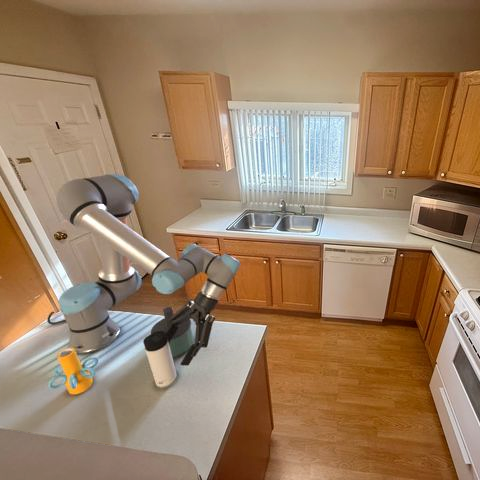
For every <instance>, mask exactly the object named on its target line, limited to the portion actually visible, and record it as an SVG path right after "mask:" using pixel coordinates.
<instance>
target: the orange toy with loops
mask: <svg viewBox="0 0 480 480" xmlns="http://www.w3.org/2000/svg"><path fill="white" fill-rule="evenodd" d="M78 355H79V354H77V353H76V351H75V349H74V348H70V347H66V348H64V349H62V350H60V351H59V352H58V353H57V354H56V358H57V360H58V362H59V364H60V366H58V367H55V368H54V369H53V373H54V374H55V376H54V377H52V378H50V380H49V381H48V383H47V386H48V388H49V389H51V390H55V389H59V388H61V387H62V386H64V385H65V387H66V389H67V391H68V394H70V395H78V394H81V393H83V392H85V391H87V390H89V388H90V387H91V386H92V385H93V382H94V379H93V377H95V376H96V371H95V369H94V368H95V367H96V366H97V365H98V363H99V358H98V357H96V356H91V357H88V358H87V359H85V360H84V361H83V362H81V359H80V357H79V356H78ZM93 360H94V361H95V362H94V363H93V364H92V365H90V366H86V364H87V363H88V362H89V361H93ZM58 370H59V371H63V373H64V374H63V373H60V372H59V371H58ZM59 378H63V380H62V382H61V383H59V384H57V385H53V382H54V381H55V380H57V379H59Z"/></svg>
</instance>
